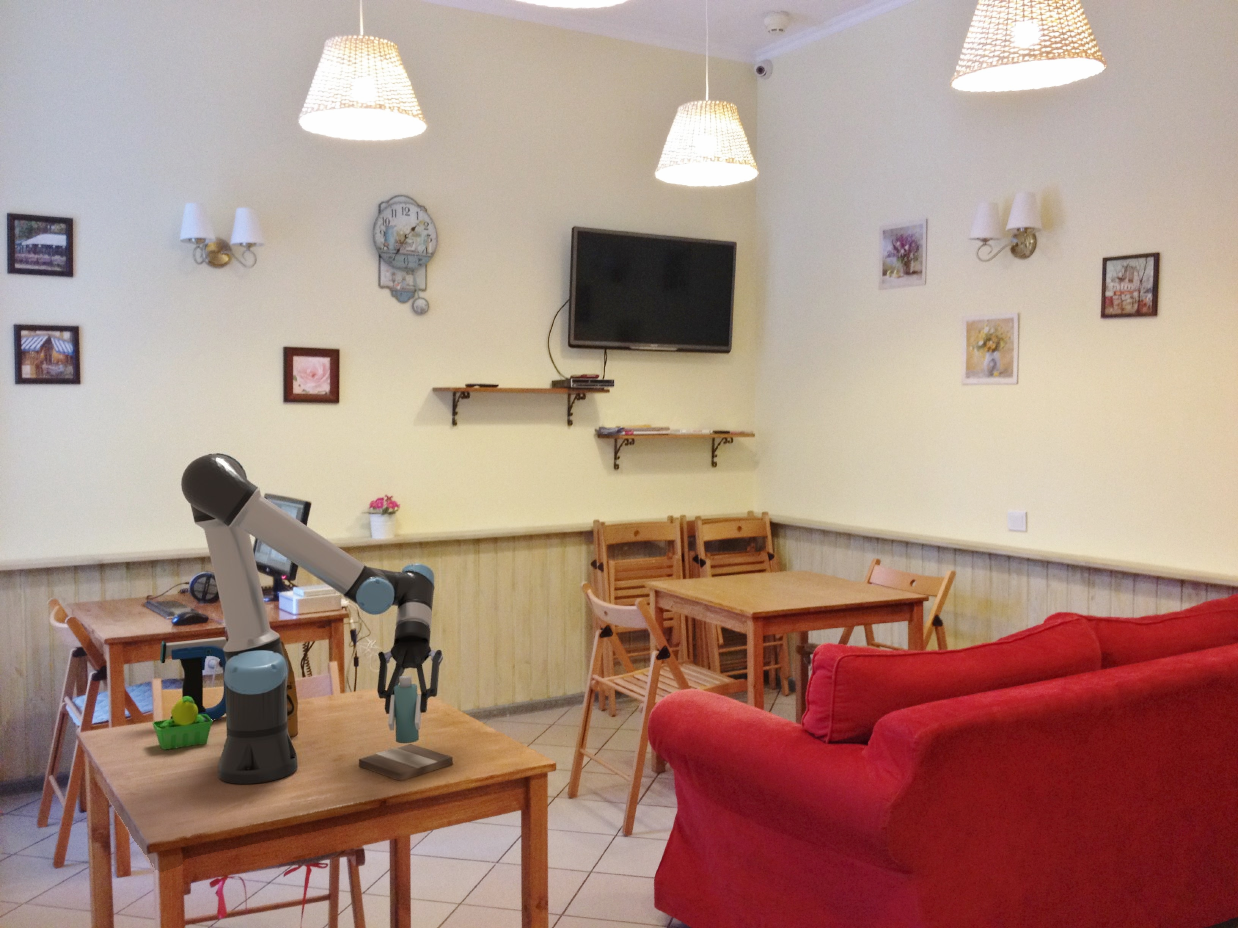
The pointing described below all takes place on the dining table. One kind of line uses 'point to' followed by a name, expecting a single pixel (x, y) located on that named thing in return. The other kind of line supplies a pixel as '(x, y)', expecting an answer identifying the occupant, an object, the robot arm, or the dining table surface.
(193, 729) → the fruit basket
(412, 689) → the teal bottle with cap
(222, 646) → the handheld scanner
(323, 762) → the dining table surface
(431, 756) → the brown cream striped panel
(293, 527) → the robot arm
